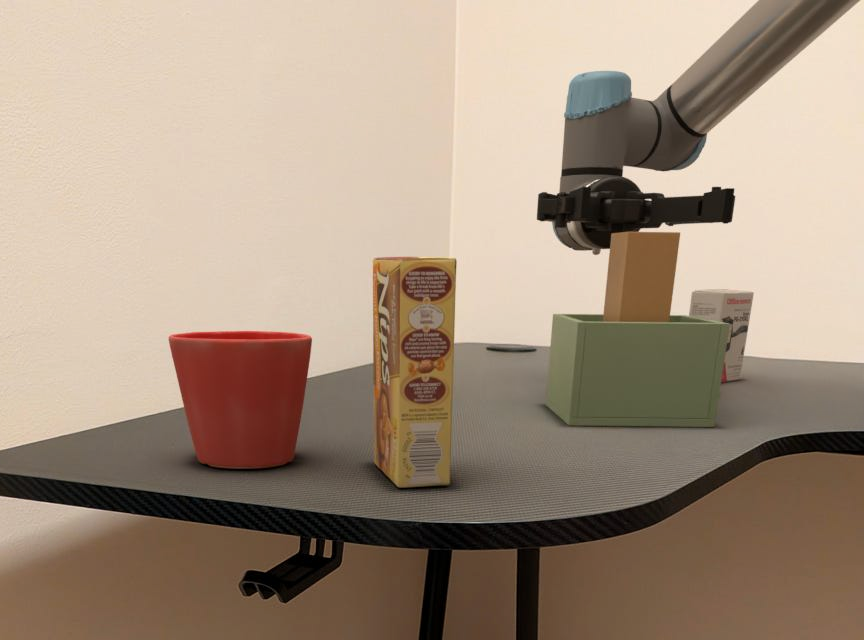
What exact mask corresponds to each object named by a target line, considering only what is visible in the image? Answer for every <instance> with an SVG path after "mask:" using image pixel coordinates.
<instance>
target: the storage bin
mask: <svg viewBox="0 0 864 640" xmlns="http://www.w3.org/2000/svg"><path fill="white" fill-rule="evenodd" d="M603 314H604V313H603ZM603 314H602V313H600V314H599V313H553V314H552V321H551V335H550V346H549V348H550V349H549V361H548V373H547V383H546V384H547V386H546V398H545V406H546V407H547V408H548V409H549V410H551V412H553V413H554V414H555V415H556V416H557V417H559V418H560V419H561V420H562V421H563V422H564V423H565V424H566V425H568V426H571V427H572V426H573V427H580V426H581V427H669V428H670V427H671V428H673V427H674V428H675V427H676V428H691V427H692V428H715V427H716V418H717V412H718V406H719V399H720V392H721V385H722V382H721V380H722V373H723V366H724V360H725V353H726V346H727V340H728V333H729V326H730V324H729V323H724V322H719V321H713V320H708V319H703V318H697V317H692V316H689V315H686V314H684V315H683V314H670V319H669V322H603Z"/></svg>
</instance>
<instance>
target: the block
mask: <svg viewBox="0 0 864 640" xmlns="http://www.w3.org/2000/svg"><path fill="white" fill-rule="evenodd" d="M680 240H681V232H680V231H671V232H670V231H639V232H622V233H612V234H611V243H610V249H609V255H608V265H607V273H606V285H605V295H604V305H603V322H669V319H670V315H671V310H672V303H673V296H674V295H673V294H674V287H675V279H676V273H677V263H678V254H679V248H680Z"/></svg>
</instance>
